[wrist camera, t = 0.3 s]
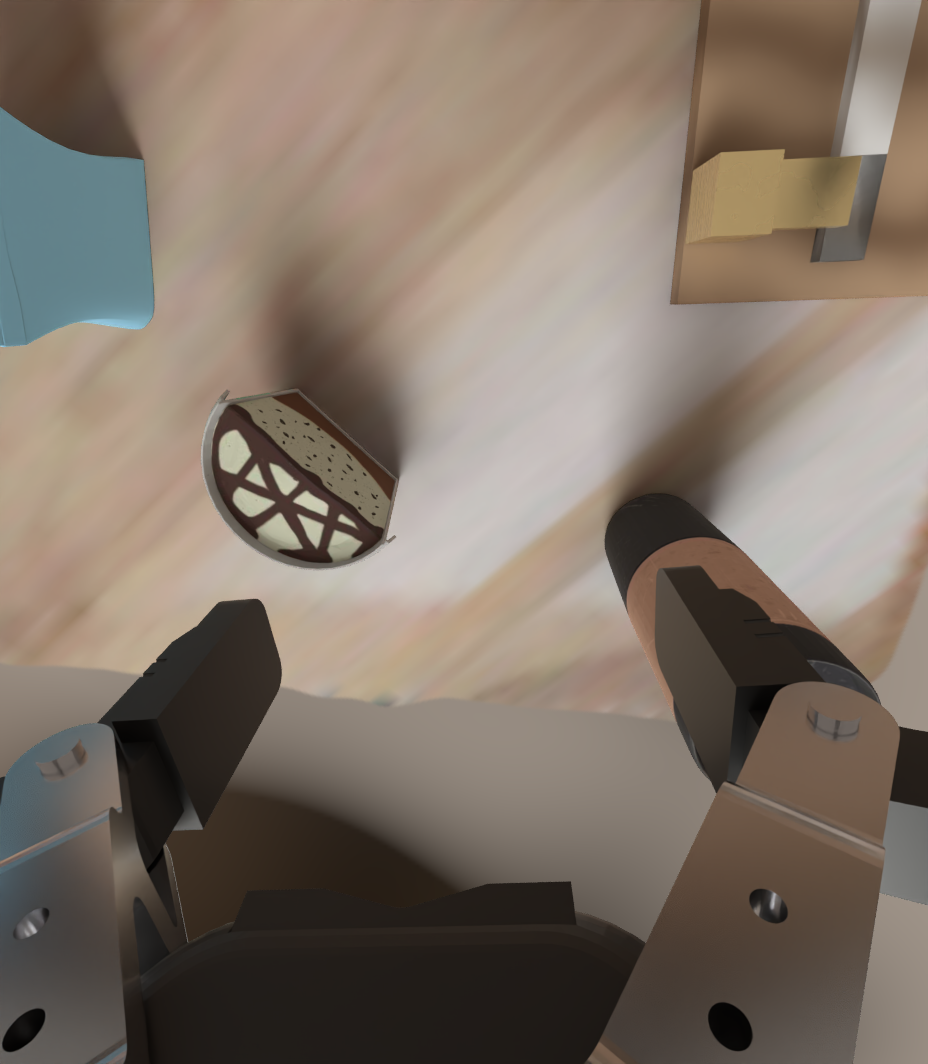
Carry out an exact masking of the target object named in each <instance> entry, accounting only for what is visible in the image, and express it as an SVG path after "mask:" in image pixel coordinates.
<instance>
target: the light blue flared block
mask: <svg viewBox="0 0 928 1064" xmlns="http://www.w3.org/2000/svg"><path fill="white" fill-rule="evenodd" d="M153 312H154V289H153V275H152V262H151V249H150V236H149V223H148V210H147V197H146V184H145V171H144V160H141V159H135V158H128V157H110V156H97V155H89V154H85V153H82V152H78V151H75V150H71V149H68V148H66V147H64V146H62V145H59V144H57V143H55V142H53V141H51V140H49V139H47V138H45V137H44V136H42V135H40V134H39V133H37V132H35V131H34V130H32V129H30V128H29V127H27V126H26V125H25V124H23V123H22V122H20V121H19V120H17V119H16V118H14V117H13V116H12V115H10V114H9V113H8V112H6V111H5V110H4V109H2V108H1V107H0V346H2V347H9V346H20V345H27V344H29V343H31V342H32V341H34V340H36V339H38V338H40V337H42V336H44V335H45V334H48V333H50V332H52V331H54V330H56V329H58V328H61V327H64V326H66V325H69V324H72V323H76V322H87V323H94V324H100V325H107V326H114V327H121V328H128V329H142V328H144V327H145V326H146V325H147V324H148V323H149V321H150V320H151V319H152V316H153Z"/></svg>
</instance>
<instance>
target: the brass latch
mask: <svg viewBox="0 0 928 1064" xmlns="http://www.w3.org/2000/svg"><path fill="white" fill-rule="evenodd" d="M784 153H785V149H778V150H758V151H738V152H721V153H719V154H718V155H716V156H715V157H713V158H712V159H710V160H709V161H707V162H706V163H704V164H703V165H701V166H700V167H698V168H697V169H695V170H694V171H693V177H692V186H691V195H690V204H689V214H688V223H687V232H686V241H685V244H704V243H728V242H741V241H745V240H749V239H753V238H757V237H761V236H765V235H769V234H771V233H772V230H796V229H820V228H838V227H843V226H847V225H848V222H849V217H850V213H851V208H852V203H853V198H854V193H855V189H856V184H857V179H858V174H859V169H860V165H861V160H862V155H861V156H841V157H820V158H800V159H784Z"/></svg>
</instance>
